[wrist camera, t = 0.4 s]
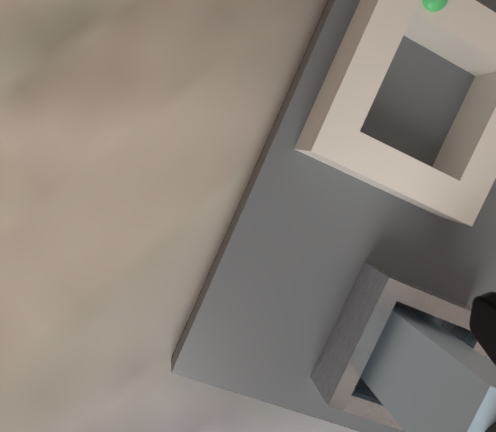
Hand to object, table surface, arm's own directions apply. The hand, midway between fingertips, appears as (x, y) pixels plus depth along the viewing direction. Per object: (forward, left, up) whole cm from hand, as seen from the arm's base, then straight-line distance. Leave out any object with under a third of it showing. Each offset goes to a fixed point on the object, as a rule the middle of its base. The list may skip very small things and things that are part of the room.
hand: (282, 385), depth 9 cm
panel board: (-8, -5, -13) cm, 16 cm away
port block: (-6, -9, -12) cm, 16 cm away
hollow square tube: (-10, +1, -12) cm, 15 cm away
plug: (-10, +1, -12) cm, 15 cm away
